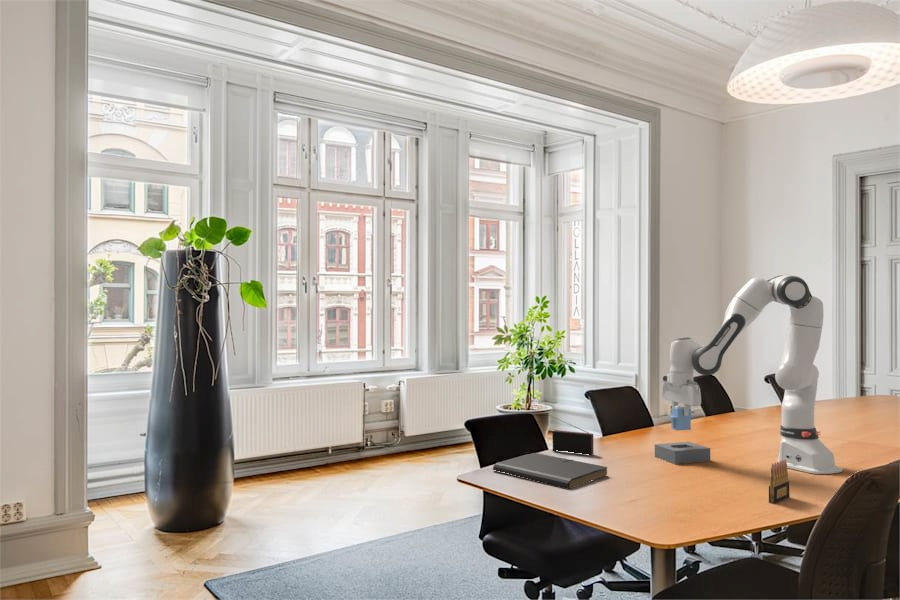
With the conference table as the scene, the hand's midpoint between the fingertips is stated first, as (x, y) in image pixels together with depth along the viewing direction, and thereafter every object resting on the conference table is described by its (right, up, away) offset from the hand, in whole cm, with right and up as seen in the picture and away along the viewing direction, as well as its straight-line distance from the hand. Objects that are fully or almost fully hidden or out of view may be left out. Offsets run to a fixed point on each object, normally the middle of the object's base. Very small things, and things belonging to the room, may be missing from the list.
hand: (681, 414), depth 261 cm
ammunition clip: (+11, -17, -56) cm, 59 cm away
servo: (0, -6, 0) cm, 6 cm away
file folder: (-55, -18, -22) cm, 62 cm away
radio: (-41, -18, +12) cm, 47 cm away
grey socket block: (0, -18, 0) cm, 18 cm away
